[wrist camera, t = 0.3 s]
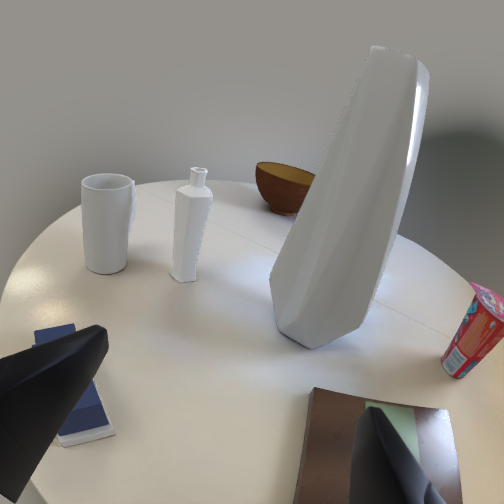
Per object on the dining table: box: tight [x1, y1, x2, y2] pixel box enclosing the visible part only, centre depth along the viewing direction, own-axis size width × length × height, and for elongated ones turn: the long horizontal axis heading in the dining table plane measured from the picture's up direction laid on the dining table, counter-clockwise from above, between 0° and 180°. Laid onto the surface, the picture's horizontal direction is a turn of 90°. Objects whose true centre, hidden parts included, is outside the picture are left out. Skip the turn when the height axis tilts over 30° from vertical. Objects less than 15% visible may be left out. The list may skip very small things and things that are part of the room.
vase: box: [269, 46, 430, 349], centre depth 29 cm, size 12×12×33 cm
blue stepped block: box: [32, 323, 116, 447], centre depth 19 cm, size 11×5×5 cm, turn 37°
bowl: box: [256, 162, 315, 216], centre depth 71 cm, size 18×18×10 cm
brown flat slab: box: [293, 387, 463, 504], centre depth 20 cm, size 14×18×1 cm
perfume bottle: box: [170, 167, 213, 283], centre depth 37 cm, size 5×4×15 cm
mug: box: [81, 174, 137, 274], centre depth 37 cm, size 10×7×12 cm, turn 162°
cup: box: [442, 283, 504, 378], centre depth 31 cm, size 9×8×12 cm
